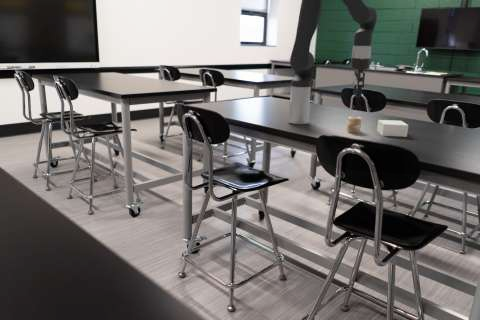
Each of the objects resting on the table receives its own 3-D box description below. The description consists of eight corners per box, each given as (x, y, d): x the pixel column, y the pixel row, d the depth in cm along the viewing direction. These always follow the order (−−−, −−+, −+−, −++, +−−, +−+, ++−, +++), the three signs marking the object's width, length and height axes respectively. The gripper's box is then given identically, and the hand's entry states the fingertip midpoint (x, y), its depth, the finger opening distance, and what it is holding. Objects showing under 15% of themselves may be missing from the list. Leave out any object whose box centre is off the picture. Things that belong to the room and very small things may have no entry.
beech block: (348, 132, 173) (349, 118, 171) (346, 129, 178) (348, 116, 176) (360, 132, 172) (361, 119, 170) (358, 130, 177) (360, 117, 175)
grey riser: (382, 136, 168) (383, 124, 167) (376, 130, 178) (378, 119, 176) (406, 137, 167) (408, 125, 166) (400, 131, 177) (401, 120, 176)
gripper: (349, 56, 173) (346, 94, 178) (353, 57, 160) (350, 98, 164) (367, 56, 172) (363, 94, 177) (373, 58, 159) (368, 99, 163)
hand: (357, 96), depth 170 cm, fingers open, 8 cm apart
